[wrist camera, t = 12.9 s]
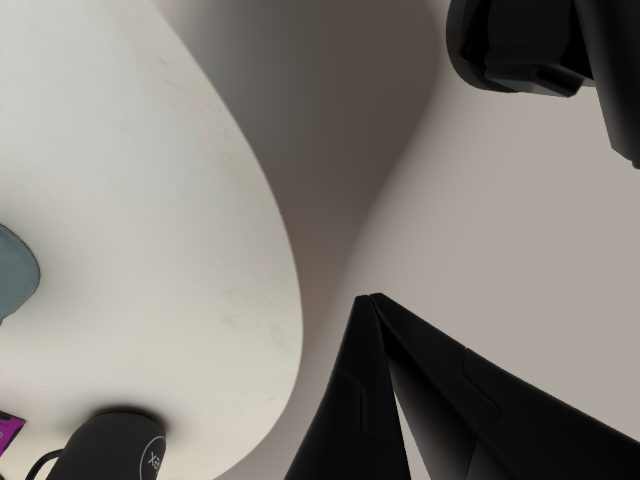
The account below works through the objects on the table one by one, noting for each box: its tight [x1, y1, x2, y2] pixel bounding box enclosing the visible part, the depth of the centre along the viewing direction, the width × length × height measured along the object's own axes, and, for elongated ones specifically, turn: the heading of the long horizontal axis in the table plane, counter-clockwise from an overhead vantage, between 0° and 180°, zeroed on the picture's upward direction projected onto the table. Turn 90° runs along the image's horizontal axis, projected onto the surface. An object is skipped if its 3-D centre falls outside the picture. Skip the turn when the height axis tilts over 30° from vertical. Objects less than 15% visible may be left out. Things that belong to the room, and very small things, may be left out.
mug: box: [25, 412, 166, 480], centre depth 29 cm, size 12×9×7 cm
